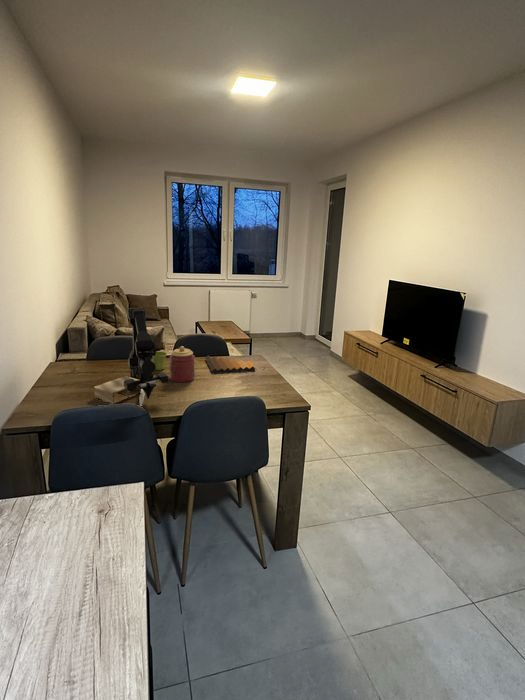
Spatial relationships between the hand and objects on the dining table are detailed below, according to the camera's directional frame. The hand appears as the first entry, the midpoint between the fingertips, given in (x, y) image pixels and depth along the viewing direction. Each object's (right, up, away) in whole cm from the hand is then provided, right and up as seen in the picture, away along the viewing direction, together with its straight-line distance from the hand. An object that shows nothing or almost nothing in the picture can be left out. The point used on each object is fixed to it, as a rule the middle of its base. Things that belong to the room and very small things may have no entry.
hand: (147, 398), depth 179 cm
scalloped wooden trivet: (+32, +12, +56) cm, 65 cm away
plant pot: (-7, +11, +45) cm, 47 cm away
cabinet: (-15, +1, +7) cm, 17 cm away
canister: (+9, +7, +32) cm, 34 cm away
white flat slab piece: (-3, -1, +3) cm, 5 cm away
